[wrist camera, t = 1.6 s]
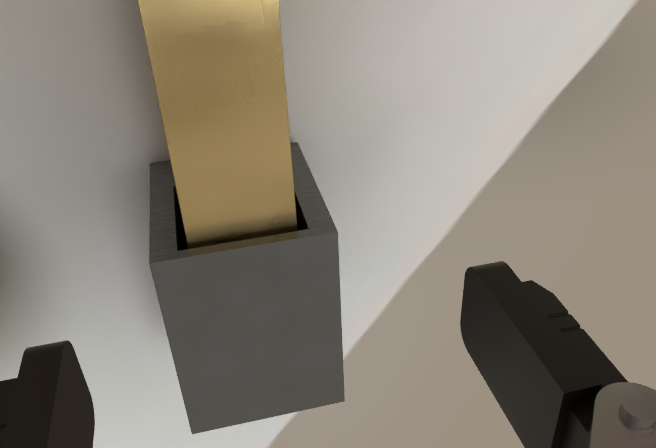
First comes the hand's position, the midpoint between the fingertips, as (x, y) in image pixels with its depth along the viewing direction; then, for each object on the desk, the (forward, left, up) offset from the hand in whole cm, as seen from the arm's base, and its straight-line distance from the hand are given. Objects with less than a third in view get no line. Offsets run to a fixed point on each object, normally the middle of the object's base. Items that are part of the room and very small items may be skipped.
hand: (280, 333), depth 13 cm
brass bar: (0, -3, -15) cm, 15 cm away
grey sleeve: (0, -9, -18) cm, 20 cm away
